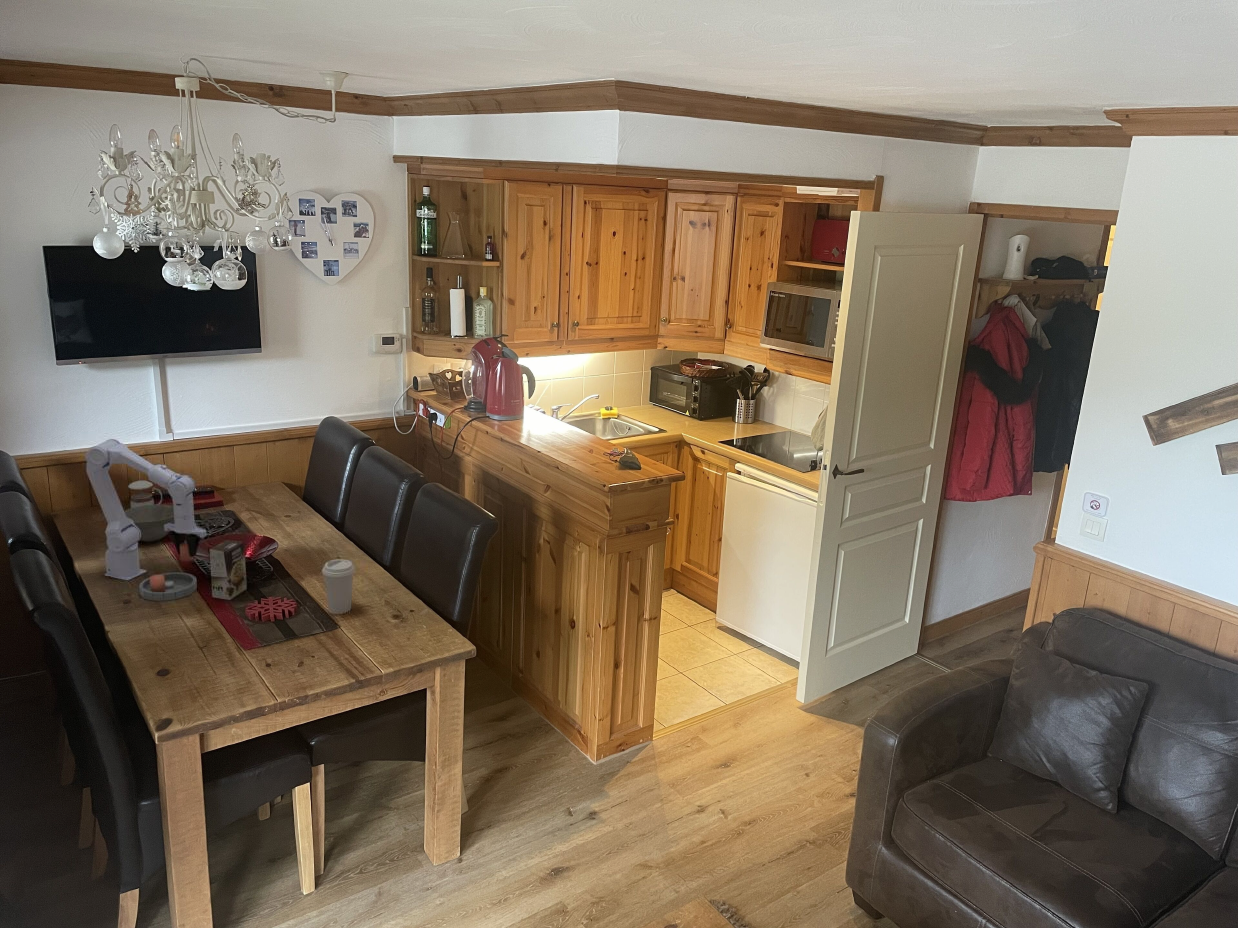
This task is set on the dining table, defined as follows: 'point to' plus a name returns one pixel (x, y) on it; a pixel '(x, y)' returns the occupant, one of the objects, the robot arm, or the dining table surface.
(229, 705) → the dining table surface
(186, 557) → the bead
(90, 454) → the robot arm
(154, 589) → the bead
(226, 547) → the coffee box
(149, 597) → the round tray
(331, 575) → the coffee cup
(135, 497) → the french press
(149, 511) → the bowl
